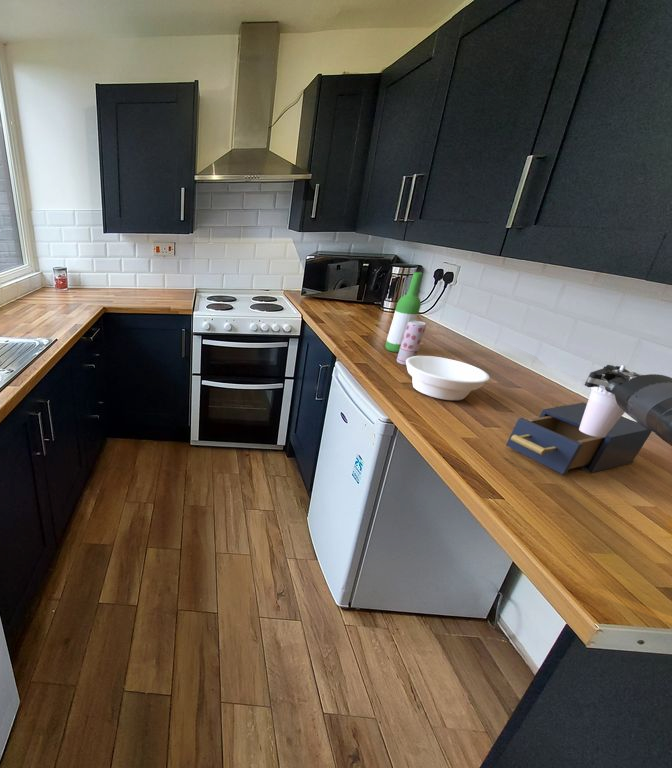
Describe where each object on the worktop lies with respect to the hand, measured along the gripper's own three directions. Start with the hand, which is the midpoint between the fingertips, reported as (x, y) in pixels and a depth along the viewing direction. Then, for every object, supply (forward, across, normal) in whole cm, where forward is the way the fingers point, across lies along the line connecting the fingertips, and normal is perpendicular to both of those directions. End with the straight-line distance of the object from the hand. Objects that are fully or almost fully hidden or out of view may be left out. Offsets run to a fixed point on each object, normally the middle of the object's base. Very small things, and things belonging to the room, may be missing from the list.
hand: (610, 370), depth 76 cm
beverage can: (+60, +26, +23) cm, 69 cm away
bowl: (+35, +19, +24) cm, 46 cm away
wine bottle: (+74, +29, +23) cm, 83 cm away
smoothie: (-3, -1, +12) cm, 13 cm away
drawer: (+5, +1, +23) cm, 23 cm away
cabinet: (+13, -8, +24) cm, 28 cm away
